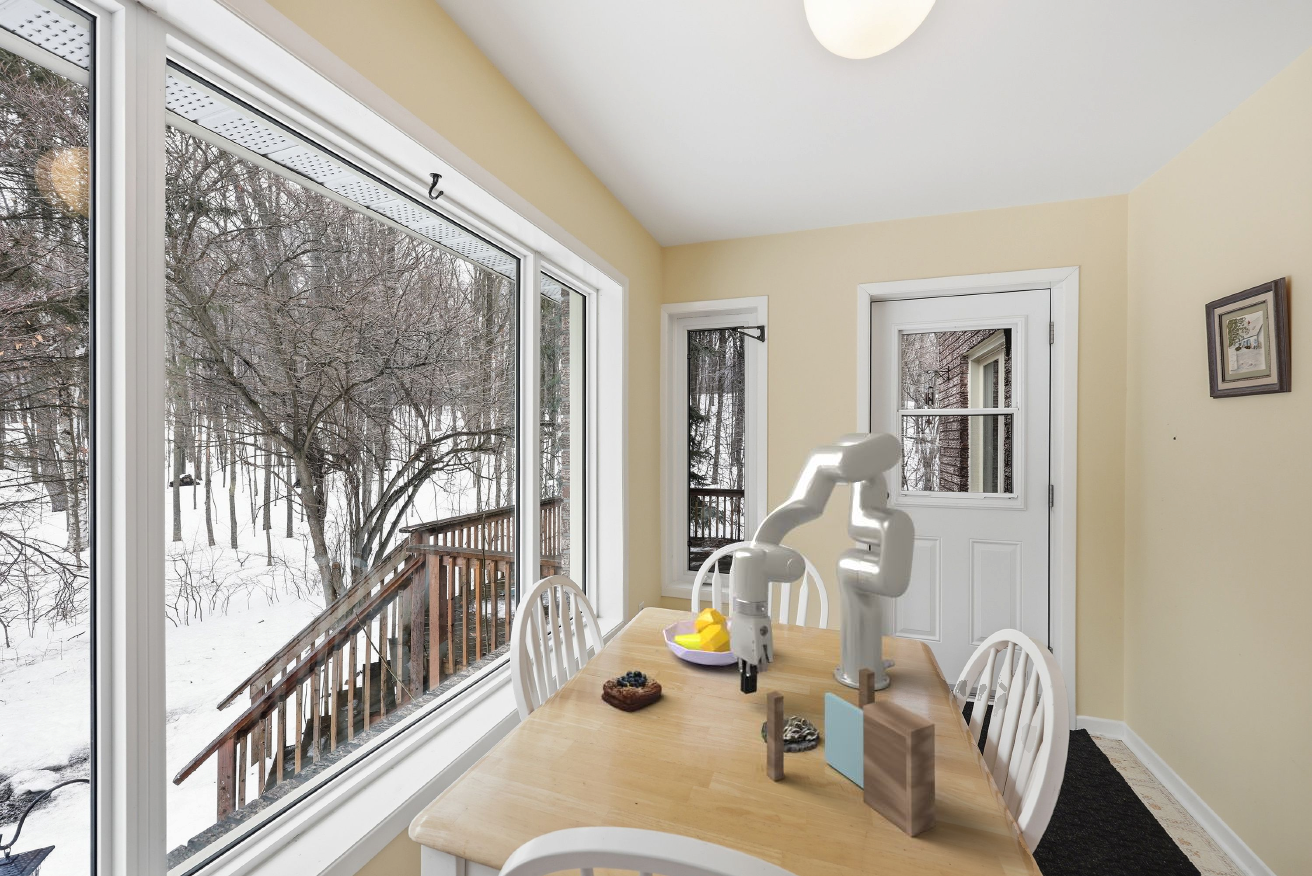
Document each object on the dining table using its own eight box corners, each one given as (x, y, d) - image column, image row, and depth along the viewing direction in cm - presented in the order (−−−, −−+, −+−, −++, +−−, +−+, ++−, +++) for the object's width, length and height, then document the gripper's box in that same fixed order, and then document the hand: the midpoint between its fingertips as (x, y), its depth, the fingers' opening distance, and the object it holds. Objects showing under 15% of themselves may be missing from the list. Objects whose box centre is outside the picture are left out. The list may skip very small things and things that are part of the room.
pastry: (595, 700, 121) (595, 673, 121) (633, 683, 130) (633, 658, 130) (629, 717, 114) (629, 689, 114) (667, 698, 123) (667, 671, 123)
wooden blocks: (866, 741, 104) (866, 661, 104) (974, 807, 85) (973, 710, 85) (766, 775, 93) (766, 686, 94) (864, 859, 74) (864, 747, 75)
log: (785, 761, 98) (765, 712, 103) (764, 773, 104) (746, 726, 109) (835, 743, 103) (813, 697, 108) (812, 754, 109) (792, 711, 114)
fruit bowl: (644, 662, 142) (644, 619, 142) (692, 632, 165) (692, 595, 165) (744, 687, 127) (744, 639, 127) (782, 651, 150) (782, 610, 150)
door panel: (829, 759, 97) (829, 692, 97) (875, 790, 88) (874, 716, 89) (824, 761, 97) (824, 693, 97) (869, 793, 88) (869, 718, 88)
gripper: (787, 613, 112) (785, 703, 112) (744, 595, 126) (742, 675, 125) (757, 617, 109) (755, 710, 108) (716, 599, 122) (715, 681, 122)
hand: (748, 691), depth 117 cm, fingers closed
